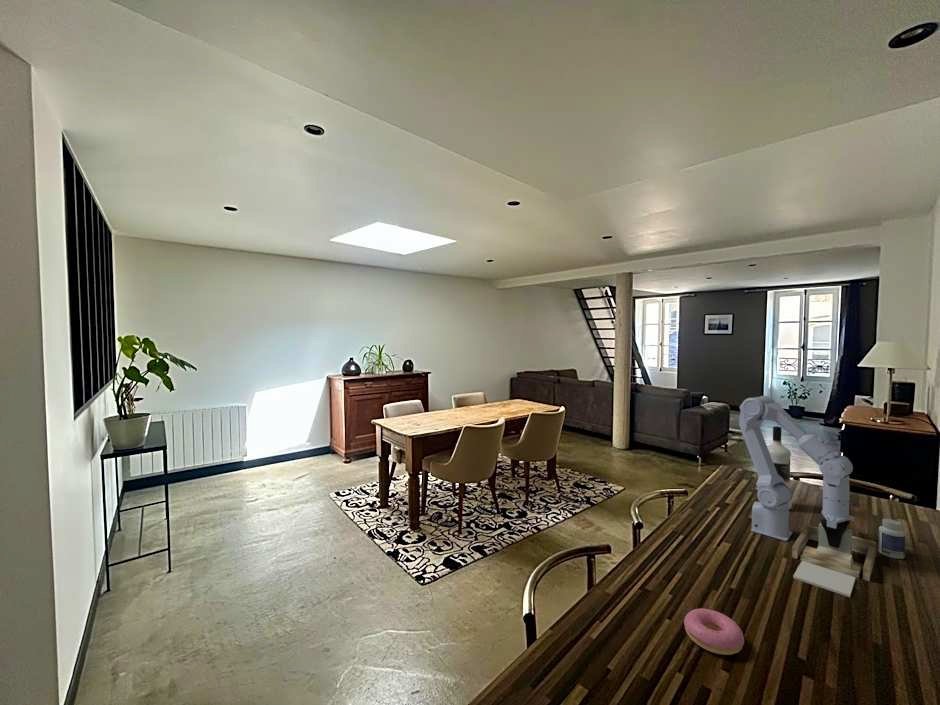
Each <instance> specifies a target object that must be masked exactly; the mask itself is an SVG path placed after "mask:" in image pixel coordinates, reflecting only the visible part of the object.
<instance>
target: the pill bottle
mask: <svg viewBox="0 0 940 705" xmlns="http://www.w3.org/2000/svg"><path fill="white" fill-rule="evenodd" d="M902 529H903V524H902V522H901V521H899V520H894V519H891V518H882V521H881V525H880V526H879V527H878V552H879V553H880V554H882V555H883V556H886V557H888V558H892V559H898V560H900V559H902V560H903V559H904V558H905V557H906V555H905V554H906V533H905V531H904V530H902Z"/></svg>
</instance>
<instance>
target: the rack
mask: <svg viewBox="0 0 940 705" xmlns="http://www.w3.org/2000/svg"><path fill="white" fill-rule="evenodd" d="M803 526H804V528H803V529H802V531H801V533H800V534H799V536H798V537H797V539H796V540H795V542H794V543H793V545H792V546H791V558H793V559H796V560H797V559H798V558H799V557H800V561H805V562H808V563H811V564H814V565H817V566H821V567H824V568H827V569H830V570H834V571H837V572H840V573H843V574H846V575H850V576H853V577H855V578H856V579H859V578H860V575H861V571H862V580H863V581H867V582H870V580H871V576H872V573H873V572H872V571H873V568H874V565H875V559H876V556H877V555H876V553H877V552H876V551H877V549H876V548H877V542H876V541H873V540H869V539H865V538H862V537H857V536H853V535H852V552H854V551H855V552H854V553H858V552H859V553H858V554H862V555H866V557H865V560H864V565H863V567H862V566H860V565H857V564H854V559H853V554H852V555H850V554H847V553H843V552H840V551H836V550H833V549H829V548H826V547H822V546H818V545H817V547H816V548H815V547H812V546H808V545H807V543H809V542H808V541H809V540H812V541H815V542H818V534H819V526H814V525H811V524H807V523H806V524H804V525H803Z"/></svg>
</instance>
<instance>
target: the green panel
mask: <svg viewBox="0 0 940 705" xmlns="http://www.w3.org/2000/svg"><path fill="white" fill-rule="evenodd" d="M818 527H819V534H818V541H817V543H818V544H817V547H818V546H822V547H826V548H829V549H833V550H836V551H840V552H843V553H847V554H850V555H852V556H853V551H852V536H853V529H850V528H847V529H846V530H845V532H844V533H843V535H842V539H841V543H840V546H839V548H835V547H831V546H829V544H828V540H827V535H826V532H825V530H824V528H823V526H822V524H821V521H820V522H819V524H818Z"/></svg>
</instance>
